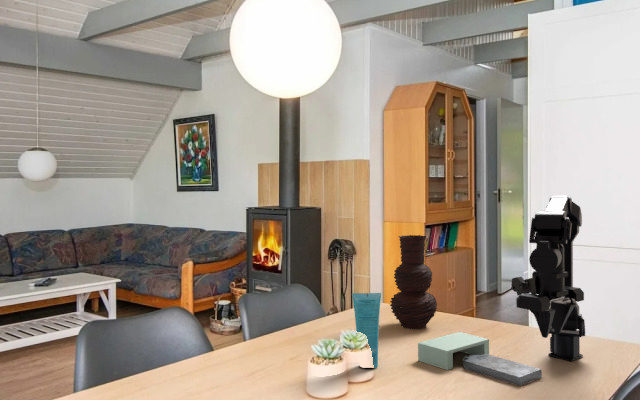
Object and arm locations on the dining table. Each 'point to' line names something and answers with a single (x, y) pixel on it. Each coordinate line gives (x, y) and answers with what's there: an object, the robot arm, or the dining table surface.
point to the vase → (413, 285)
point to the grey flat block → (501, 369)
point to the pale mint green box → (450, 348)
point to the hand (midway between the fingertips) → (551, 335)
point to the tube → (368, 319)
